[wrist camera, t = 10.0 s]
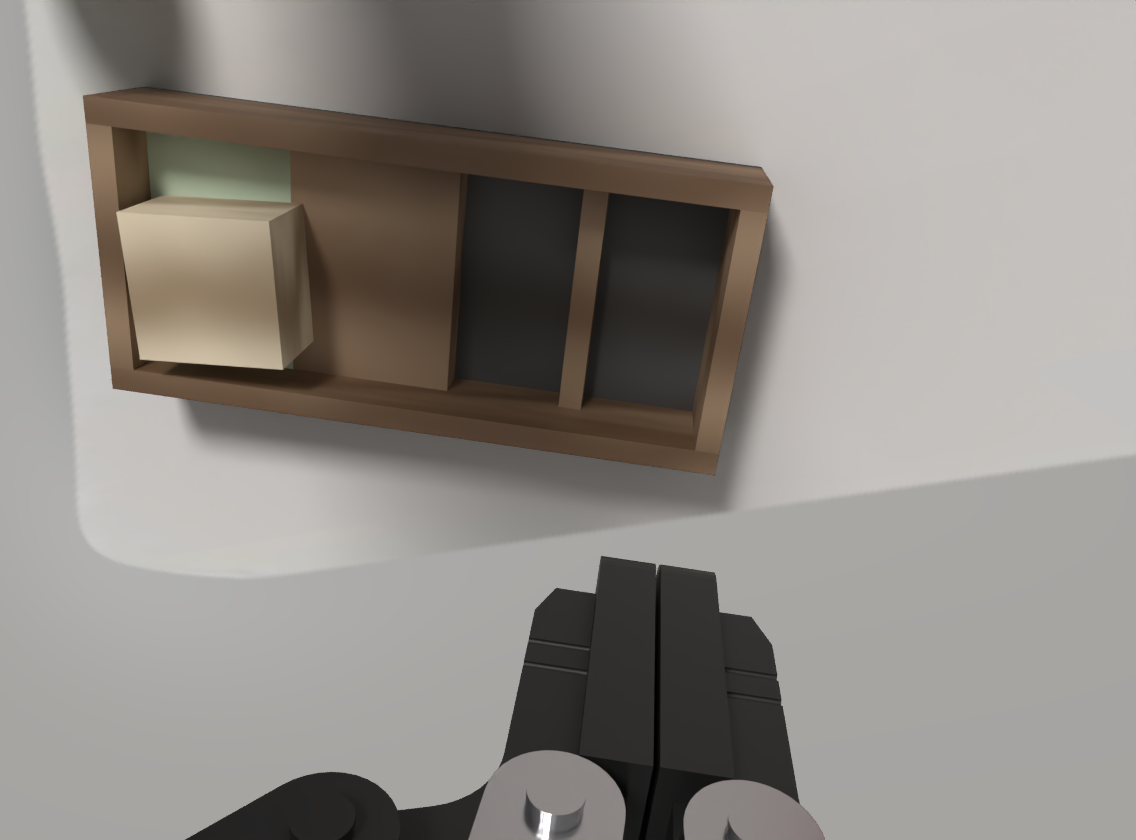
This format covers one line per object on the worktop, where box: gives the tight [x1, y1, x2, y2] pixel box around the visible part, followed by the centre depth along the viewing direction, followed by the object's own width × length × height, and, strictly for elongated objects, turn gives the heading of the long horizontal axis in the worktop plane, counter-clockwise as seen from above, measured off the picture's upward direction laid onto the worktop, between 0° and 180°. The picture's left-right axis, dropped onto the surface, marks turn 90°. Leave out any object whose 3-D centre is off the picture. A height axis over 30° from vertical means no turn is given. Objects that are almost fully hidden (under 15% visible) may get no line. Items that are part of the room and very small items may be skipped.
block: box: [116, 195, 314, 370], centre depth 38 cm, size 6×6×4 cm
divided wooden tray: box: [83, 87, 773, 475], centre depth 38 cm, size 12×26×4 cm, turn 83°
